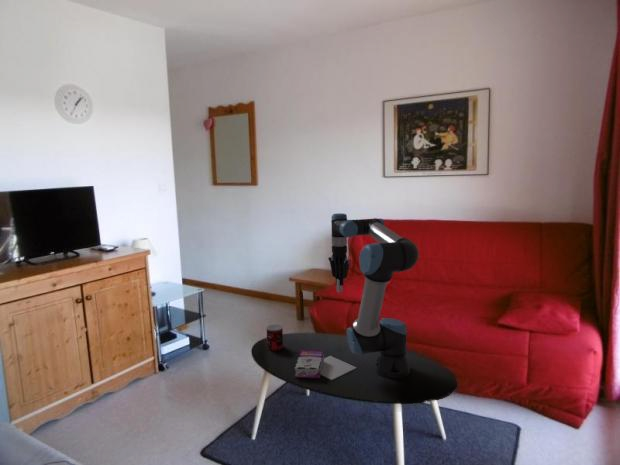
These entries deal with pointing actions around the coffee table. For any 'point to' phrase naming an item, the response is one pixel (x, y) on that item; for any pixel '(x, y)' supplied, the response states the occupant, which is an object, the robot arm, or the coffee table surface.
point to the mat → (335, 368)
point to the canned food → (274, 337)
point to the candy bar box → (309, 364)
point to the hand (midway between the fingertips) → (339, 291)
